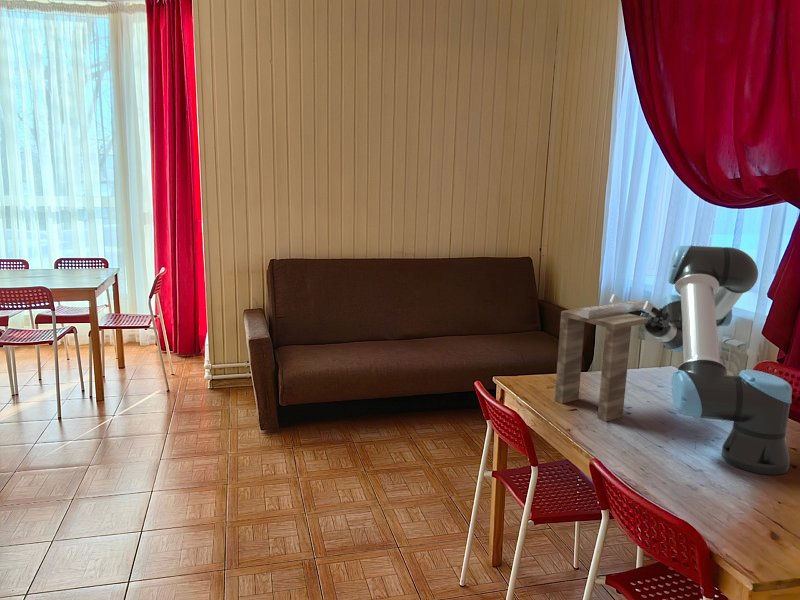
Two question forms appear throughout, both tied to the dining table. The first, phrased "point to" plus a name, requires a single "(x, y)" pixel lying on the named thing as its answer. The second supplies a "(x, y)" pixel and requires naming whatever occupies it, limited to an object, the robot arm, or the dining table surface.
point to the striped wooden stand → (611, 365)
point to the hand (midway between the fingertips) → (628, 301)
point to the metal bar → (612, 309)
